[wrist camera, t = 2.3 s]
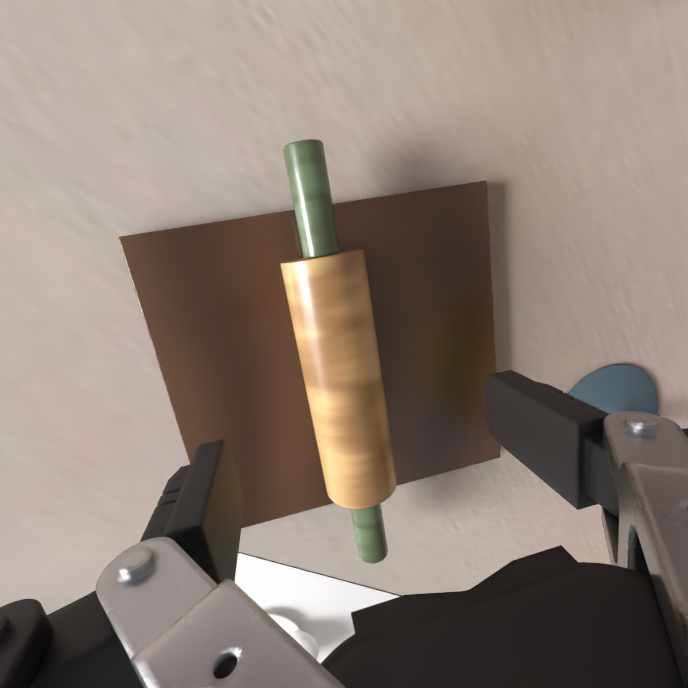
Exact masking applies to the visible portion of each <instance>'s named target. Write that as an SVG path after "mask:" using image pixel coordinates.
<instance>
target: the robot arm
mask: <svg viewBox="0 0 688 688" xmlns="http://www.w3.org/2000/svg"><path fill="white" fill-rule="evenodd" d="M484 390H485V404H486V417H487V425H488V428H489V431H490V433H491V435H492V436H493V438H494V439H495V440H496V441H497V442H498V443H499V444H500V445H502V446H503V447H504V448H505V449H506V450H507V451H509V452H510V453H511V454H512V455H513V456H515V457H516V458H517V459H518V460H519V461H520V462H522V463H523V464H524V465H525V466H526V467H528V468H529V469H530V470H531V471H532V472H534V473H535V474H536V475H537V476H538V477H539V478H541V479H542V480H543V481H544V482H545V483H547V484H548V485H549V486H550V487H551V488H552V489H554V490H555V491H556V492H557V493H558V494H560V495H561V496H562V497H563V498H564V499H565V500H567V501H568V502H569V503H570V504H571V505H573V506H574V507H575V508H576V509H577V510H579V509H582V508H586V507H589V506H592V505H595V504H600V505H601V506H602V523H603V528H604V533H605V538H606V543H607V547H608V552H609V557H610V562H611V565H609V564H602V563H587V562H580V563H578V562H577V561H576V560H575V559H574V558H573V557H572V556H571V555H570V554H569V553H568V552H567V551H566V550H565V549H564V548H563V547H562V546H558V547H554V548H551V549H548V550H545V551H542V552H539V553H536V554H532V555H529V556H526V557H523V558H520V559H517V560H514V561H512V562H510V563H509V564H507V565H506V566H504V567H503V568H501V569H500V570H498V571H497V572H495V573H494V574H492V575H491V576H489V577H488V578H486V579H485V580H484V581H482V582H481V583H479V584H478V585H476V586H475V587H473V588H471V589H470V590H467V591H461V592H445V593H429V594H412V595H404V596H401V597H397V598H394V599H391V600H388V601H385V602H382V603H379V604H375V605H372V606H369V607H366V608H363V609H360V610H357V611H354V612H351V617H352V621H353V626H354V631H355V634H354V635H352V636H351V637H349V638H348V639H346V640H345V641H343V642H342V643H341V644H340V645H339V646H338V647H336V648H335V649H334V650H333V651H332V652H331V653H330V654H329V655H328V656H327V657H326V658H325V659H324V660H323V661H322V662H321V664H320V663H319V662H318V661H317V660H316V659H315V658H314V657H313V656H312V655H311V654H310V653H309V652H307V651H306V650H305V649H304V648H303V647H302V646H301V645H300V644H299V643H298V642H297V641H296V640H295V639H294V638H293V637H292V636H291V635H290V634H288V633H287V632H286V631H285V630H284V629H283V628H282V627H281V626H280V625H279V624H278V623H277V622H276V621H275V620H274V619H273V618H272V617H270V616H269V615H268V614H267V613H266V612H265V611H264V610H263V609H262V608H261V607H260V606H259V605H258V604H257V603H256V602H255V601H254V600H253V599H251V598H250V597H249V596H248V595H247V594H246V593H245V592H244V591H243V590H242V589H241V588H240V587H239V586H238V585H237V584H236V583H235V575H236V566H237V558H238V550H239V541H240V533H241V524H242V516H243V507H244V502H243V492H242V487H241V483H240V480H239V476H238V473H237V469H236V466H235V462H234V459H233V456H232V452H231V449H230V445H229V443H228V441H227V439H221V440H217V441H213V442H209V443H205V444H200V445H198V447H197V450H196V452H195V455H194V457H193V460H192V462H191V465H187V466H183V467H181V468H180V469H179V470H178V471H177V472H176V473H175V474H174V475H173V476H172V477H171V478H170V479H169V480H168V482H167V485H166V487H165V489H164V491H163V493H162V494H163V496H161V497H160V500H159V502H158V504H157V507H156V508H155V510H154V513H153V515H152V517H151V519H150V521H149V523H148V525H147V528H146V530H145V532H144V534H143V536H142V538H141V541H140V543H138V544H136V545H134V546H132V547H130V548H128V549H127V550H125V551H124V552H122V553H121V554H120V555H118V556H117V557H116V558H115V559H114V560H113V561H112V562H111V563H110V564H109V565H108V566H107V567H106V568H105V569H104V571H103V572H102V573H101V575H100V577H99V579H98V581H97V584H96V591H94V592H92V593H90V594H88V595H86V596H84V597H83V598H81V599H79V600H77V601H75V602H73V603H71V604H69V605H67V606H65V607H63V608H61V609H59V610H57V611H55V612H53V613H51V614H49V615H46V613H45V611H44V609H43V607H42V605H41V603H40V602H39V601H37V600H34V599H24V600H19V601H15V602H12V603H10V604H7V605H5V606H3V607H0V688H688V428H687V429H681V428H680V426H679V425H677V424H676V423H675V422H673V421H671V420H669V419H667V418H664V417H662V416H658V415H655V414H650V413H645V412H635V411H625V412H617V413H613V414H609V413H607V412H605V411H603V410H600V409H598V408H596V407H594V406H592V405H590V404H588V403H586V402H584V401H582V400H580V399H575V398H574V397H573V396H571V395H569V394H567V393H563V391H561V390H559V389H557V388H555V387H552V386H550V385H548V384H543V383H539V382H535V381H533V380H531V379H529V378H527V377H525V376H523V375H521V374H518V373H516V372H514V371H512V370H508V371H504V372H500V373H495V374H491V375H488V376H486V377H485V380H484Z"/></svg>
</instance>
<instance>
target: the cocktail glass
mask: <svg viewBox="0 0 688 688" xmlns="http://www.w3.org/2000/svg"><path fill="white" fill-rule="evenodd" d="M569 395H571V396H573V397H574V398H575V399H580V400H582V401H584V402H586V403H588V404H590V405H592V406H594V407H596V408H598V409H600V410H603V411H605V412H607V413H609V414H613V413H617V412H625V411H635V412H645V413H650V414H655V415H657V410H658V396H657V391H656V388H655V386H654V383H653V382H652V380H651V379H650V377H649V376H648V375H647V374H646V373H645V372H643V371H642V370H640V369H638V368H636V367H633V366H630V365H624V364H616V365H610V366H605V367H603V368H600V369H598V370H596V371H594V372H592V373H590V374H589V375H587V376H586V377H585V378H583V379H582V380H581V381H580V382H579V383H578V384H577V385H576V386H575V387H574V388H573V389H572V390H571V392H570V393H569Z"/></svg>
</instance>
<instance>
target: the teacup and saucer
mask: <svg viewBox="0 0 688 688" xmlns="http://www.w3.org/2000/svg"><path fill="white" fill-rule="evenodd" d="M267 614H268V615H269V616H270V617H272V618H273V619H274V620H275V621H276V622H277V623H278V624H279V625H280V626H281V627H282V628H283V629H284V630H285V631H286V632H287V633H288V634H290V635H291V636H292V637H293V638H294V639H295V640H296V641H297V642H298V643H299V644H300V645H301V646H302V647H303V648H304V649H305V650H306V651H307V652H309V653H310V654H311V655H312V656H313V657H314V658H315V659H316V660H318V657H319V654H320V648H319V644H318V641H317V640H316V638H315V637H314V636H313V635H312V634H311V633H309V632H307V631H304V630H302V629H301V628H300V626H299V625H298V624H297V623H296V622H295V621H293V620H292V619H291V618H289V617H287V616H284V615H282V614H278V613H271V612H268V613H267Z"/></svg>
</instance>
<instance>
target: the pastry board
mask: <svg viewBox="0 0 688 688" xmlns="http://www.w3.org/2000/svg"><path fill="white" fill-rule="evenodd" d="M333 210H334V216H335V223H336V229H337V235H338V241H339V248H340V252H342V251H349V250H357V249H364V254H365V261H366V268H367V275H368V282H369V289H370V296H371V303H372V310H373V317H374V324H375V331H376V338H377V345H378V352H379V359H380V366H381V373H382V380H383V387H384V394H385V401H386V408H387V415H388V422H389V429H390V437H391V444H392V451H393V458H394V465H395V472H396V479H397V484H396V486H397V485H401V484H404V483H408V482H412V481H415V480H419V479H423V478H426V477H430V476H434V475H437V474H441V473H445V472H448V471H452V470H455V469H459V468H463V467H466V466H470V465H474V464H477V463H481V462H485V461H488V460H492V459H495V458H499V457H500V444H499V443H498V442H497V441H496V440H495V439H494V438H493V436H492V435H491V433H490V431H489V428H488V425H487V417H486V404H485V390H484V380H485V377H486V376H488V375H491V374H495V373H496V360H495V341H494V321H493V302H492V283H491V263H490V244H489V224H488V205H487V186H486V181H481V182H474V183H468V184H461V185H455V186H448V187H442V188H435V189H429V190H422V191H416V192H409V193H403V194H396V195H390V196H383V197H377V198H370V199H363V200H357V201H350V202H344V203H337V204H333ZM119 241H120V244H121V247H122V250H123V253H124V256H125V260H126V263H127V266H128V269H129V272H130V275H131V279H132V282H133V285H134V288H135V291H136V294H137V298H138V301H139V304H140V307H141V310H142V313H143V316H144V320H145V323H146V326H147V329H148V332H149V335H150V339H151V342H152V345H153V348H154V351H155V354H156V358H157V361H158V364H159V367H160V370H161V373H162V376H163V380H164V383H165V386H166V389H167V392H168V395H169V399H170V402H171V405H172V408H173V411H174V414H175V418H176V421H177V424H178V427H179V430H180V433H181V436H182V440H183V443H184V446H185V449H186V452H187V455H188V459H189V462H190V465H191V462H192V460H193V457H194V455H195V452H196V450H197V447H198V445H200V444H205V443H209V442H213V441H217V440H221V439H227V441H228V443H229V445H230V449H231V452H232V456H233V459H234V462H235V466H236V469H237V473H238V476H239V480H240V483H241V487H242V492H243V502H244V507H243V516H242V524H241V528H244V527H248V526H252V525H255V524H259V523H263V522H266V521H270V520H273V519H277V518H281V517H284V516H288V515H292V514H295V513H299V512H303V511H306V510H310V509H313V508H317V507H321V506H324V505H328V504H332V503H334V502H333V501H332V500H331V499H330V498H329V496H328V493H327V489H326V484H325V479H324V474H323V470H322V465H321V460H320V455H319V450H318V445H317V440H316V435H315V430H314V426H313V421H312V416H311V411H310V406H309V401H308V396H307V391H306V386H305V382H304V377H303V372H302V367H301V362H300V357H299V352H298V347H297V343H296V338H295V333H294V328H293V323H292V318H291V313H290V308H289V303H288V299H287V294H286V289H285V284H284V279H283V274H282V269H281V263H282V262H286V261H291V260H295V259H301V258H304V257H303V252H302V247H301V241H300V236H299V231H298V225H297V220H296V215H295V210H292V211H285V212H279V213H272V214H266V215H259V216H253V217H246V218H239V219H233V220H226V221H220V222H213V223H207V224H200V225H194V226H187V227H181V228H174V229H168V230H161V231H155V232H148V233H142V234H135V235H129V236H122V237H119Z"/></svg>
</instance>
